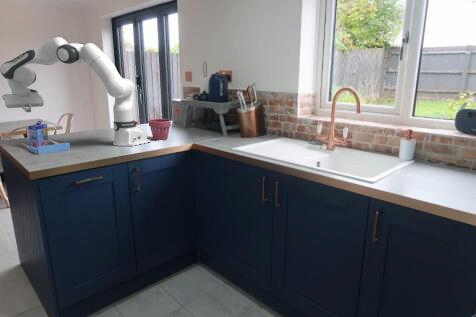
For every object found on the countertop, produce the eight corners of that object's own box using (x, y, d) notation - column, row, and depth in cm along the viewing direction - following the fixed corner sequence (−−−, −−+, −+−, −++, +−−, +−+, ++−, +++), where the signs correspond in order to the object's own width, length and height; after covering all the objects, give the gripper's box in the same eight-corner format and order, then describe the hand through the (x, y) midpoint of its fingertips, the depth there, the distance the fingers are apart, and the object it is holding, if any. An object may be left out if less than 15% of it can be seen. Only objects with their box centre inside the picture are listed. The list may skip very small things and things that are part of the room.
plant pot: (168, 141, 210) (167, 121, 206) (146, 141, 210) (145, 121, 207) (173, 137, 224) (172, 118, 220) (152, 137, 224) (152, 118, 221)
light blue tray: (50, 141, 204) (49, 135, 203) (70, 149, 183) (69, 142, 182) (19, 145, 192) (18, 138, 191) (37, 154, 172) (36, 146, 171)
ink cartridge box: (39, 147, 188) (35, 122, 185) (30, 146, 189) (26, 121, 185) (49, 143, 198) (46, 119, 194) (40, 143, 198) (37, 119, 195)
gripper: (1, 91, 192) (8, 109, 188) (40, 90, 207) (47, 107, 203) (0, 98, 196) (7, 116, 192) (38, 97, 211) (46, 113, 207)
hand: (28, 111), depth 198 cm, fingers closed
